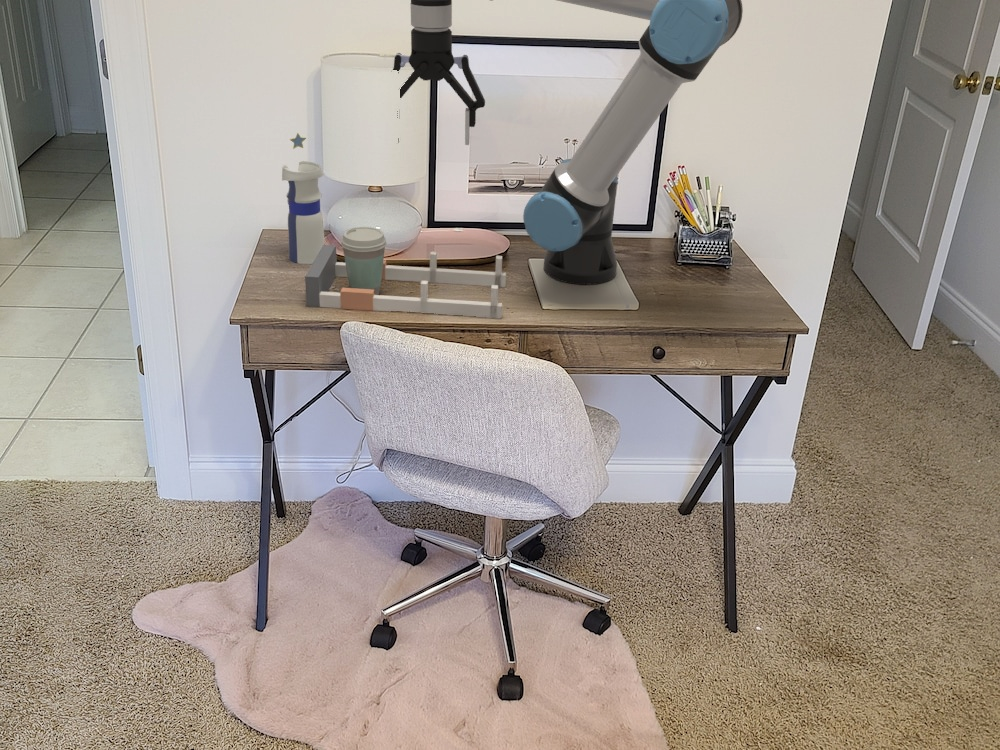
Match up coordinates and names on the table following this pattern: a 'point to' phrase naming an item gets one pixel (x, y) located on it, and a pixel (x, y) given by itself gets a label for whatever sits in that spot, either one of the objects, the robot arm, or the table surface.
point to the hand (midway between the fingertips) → (432, 142)
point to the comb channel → (365, 299)
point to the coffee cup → (364, 257)
